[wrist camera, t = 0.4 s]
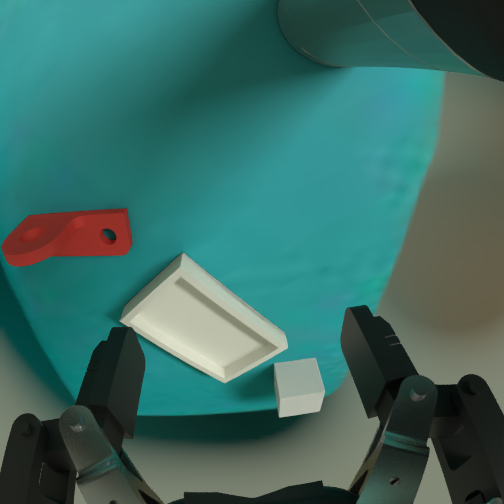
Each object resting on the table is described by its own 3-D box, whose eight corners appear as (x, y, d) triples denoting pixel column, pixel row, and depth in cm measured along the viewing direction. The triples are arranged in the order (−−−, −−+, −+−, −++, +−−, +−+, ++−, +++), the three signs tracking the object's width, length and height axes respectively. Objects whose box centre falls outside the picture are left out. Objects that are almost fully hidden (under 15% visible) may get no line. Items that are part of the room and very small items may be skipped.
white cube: (273, 362, 41) (279, 398, 35) (315, 356, 41) (325, 391, 36) (273, 384, 44) (279, 417, 39) (311, 379, 44) (319, 411, 39)
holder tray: (182, 252, 29) (180, 266, 27) (284, 332, 37) (288, 347, 35) (124, 305, 33) (119, 321, 31) (224, 368, 40) (224, 383, 38)
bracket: (40, 251, 28) (7, 295, 21) (29, 214, 25) (-10, 255, 19) (134, 249, 29) (112, 301, 22) (127, 207, 26) (99, 253, 20)
